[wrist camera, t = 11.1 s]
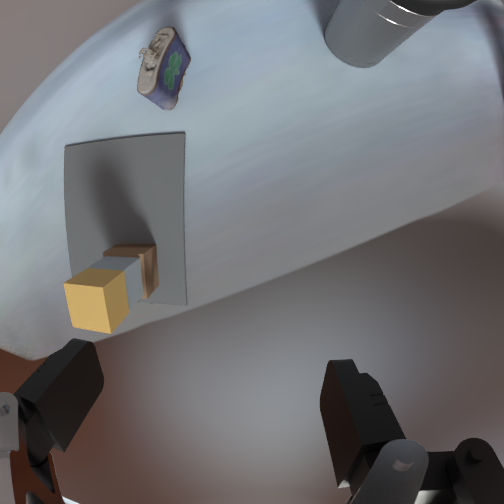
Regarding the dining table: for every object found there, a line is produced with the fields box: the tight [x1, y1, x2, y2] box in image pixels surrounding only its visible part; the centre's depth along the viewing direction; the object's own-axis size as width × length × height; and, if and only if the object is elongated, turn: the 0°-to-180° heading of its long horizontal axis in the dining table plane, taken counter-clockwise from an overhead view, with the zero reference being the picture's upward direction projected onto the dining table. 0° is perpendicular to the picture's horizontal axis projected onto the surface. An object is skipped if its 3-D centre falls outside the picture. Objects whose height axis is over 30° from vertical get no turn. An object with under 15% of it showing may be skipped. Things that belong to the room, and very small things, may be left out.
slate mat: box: [64, 134, 187, 306], centre depth 38 cm, size 24×20×1 cm
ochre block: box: [64, 268, 129, 334], centre depth 27 cm, size 5×5×5 cm
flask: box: [137, 27, 191, 110], centre depth 27 cm, size 9×3×11 cm, turn 165°
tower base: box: [103, 243, 159, 299], centre depth 36 cm, size 6×6×5 cm
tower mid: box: [87, 256, 143, 311], centre depth 32 cm, size 5×5×5 cm
